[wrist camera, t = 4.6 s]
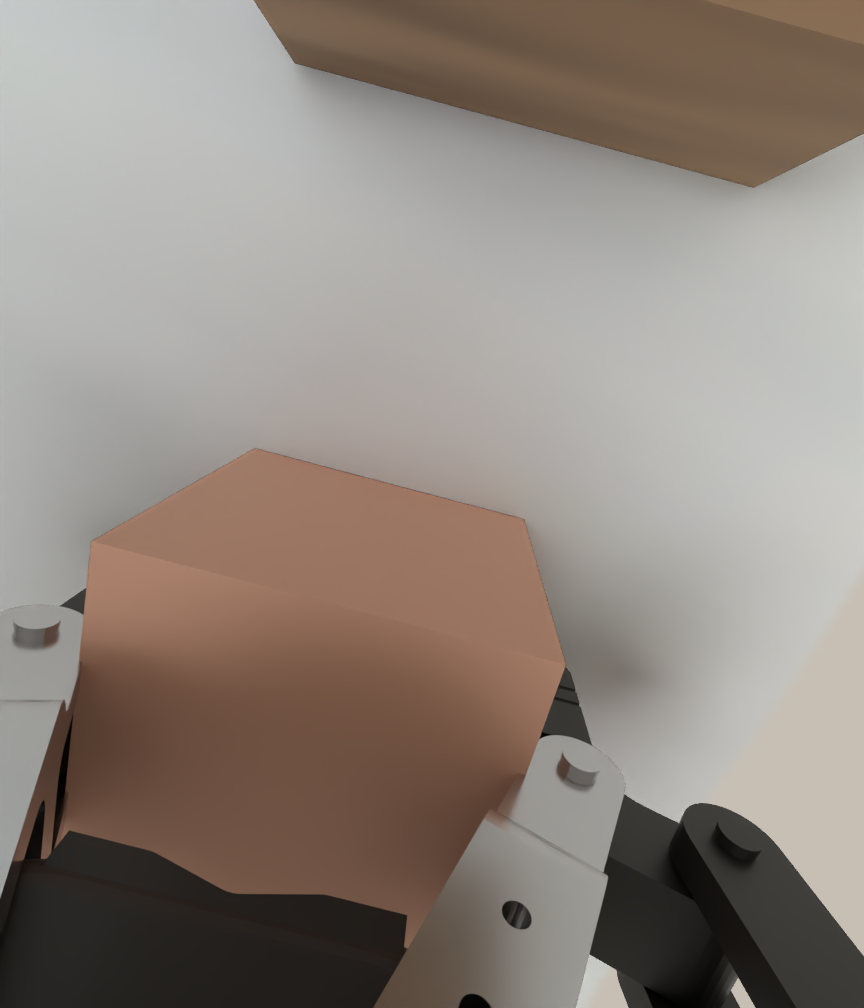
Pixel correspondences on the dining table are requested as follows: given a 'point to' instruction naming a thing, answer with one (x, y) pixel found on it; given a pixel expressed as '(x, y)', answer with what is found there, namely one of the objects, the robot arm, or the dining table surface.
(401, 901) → the cube
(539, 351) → the dining table surface
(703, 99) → the tower base
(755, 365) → the dining table surface
